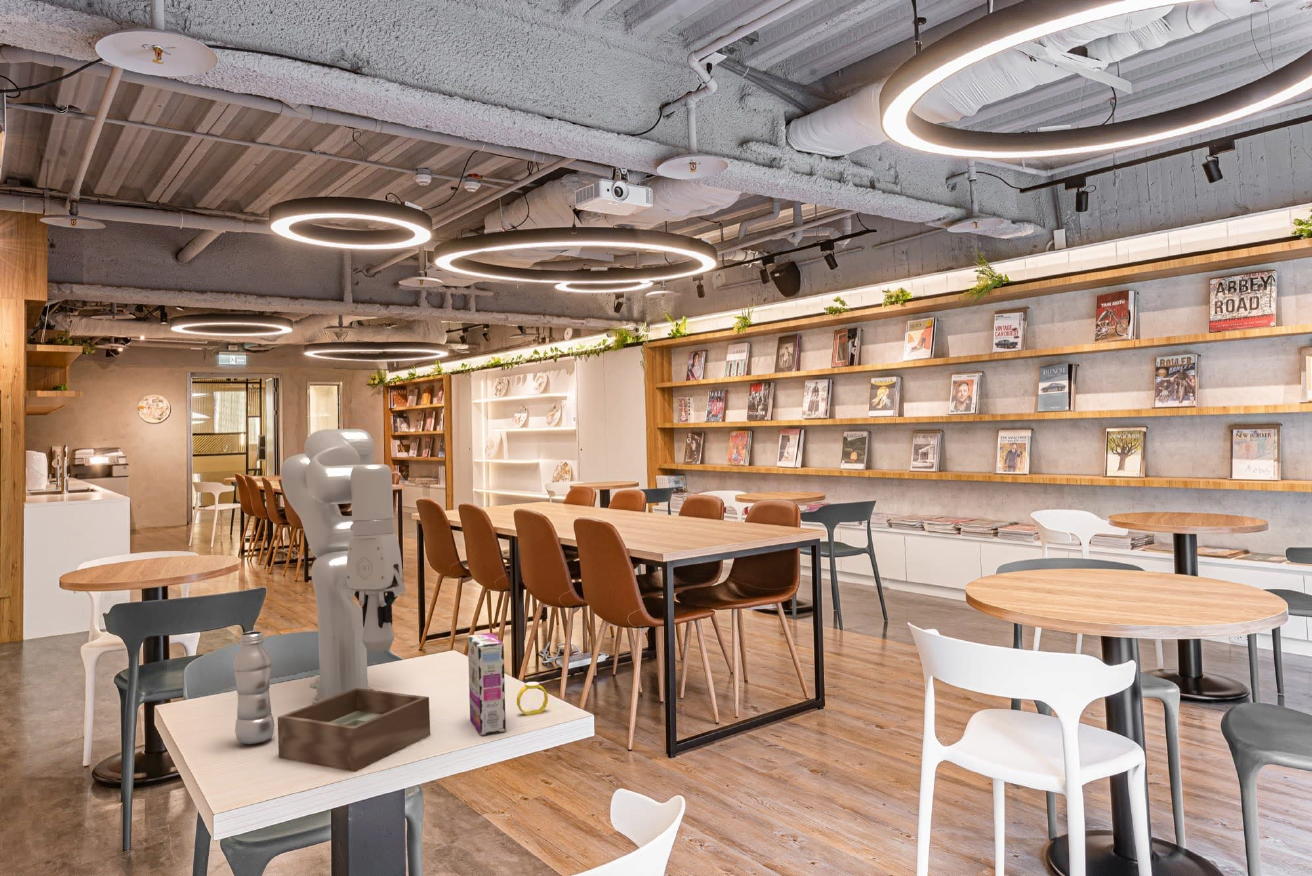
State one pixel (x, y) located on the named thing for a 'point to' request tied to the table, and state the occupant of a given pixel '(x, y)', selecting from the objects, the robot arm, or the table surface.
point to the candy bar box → (486, 683)
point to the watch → (532, 686)
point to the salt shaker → (376, 627)
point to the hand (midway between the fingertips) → (377, 625)
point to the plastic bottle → (253, 690)
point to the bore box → (353, 728)
